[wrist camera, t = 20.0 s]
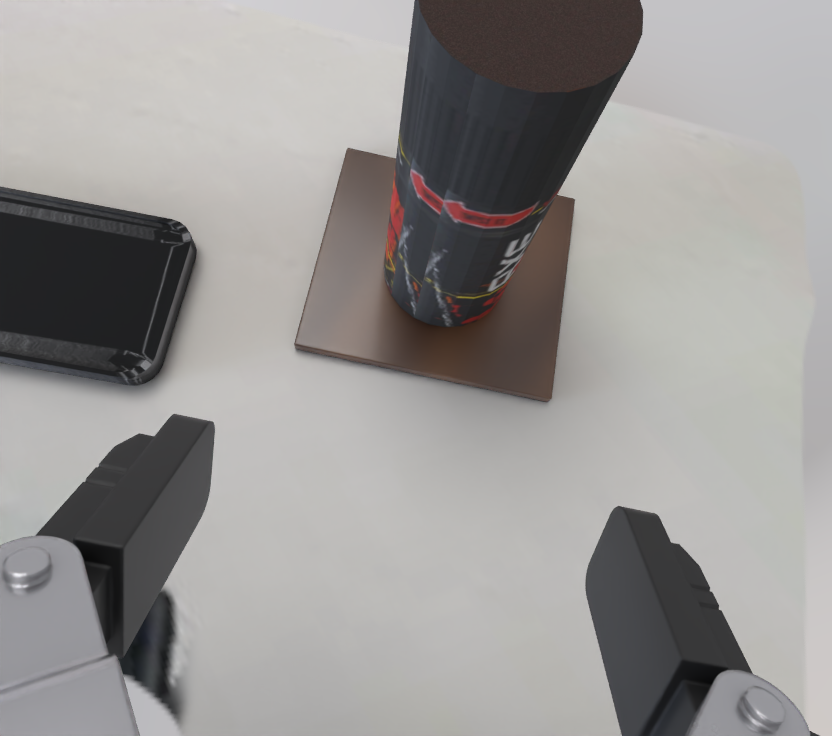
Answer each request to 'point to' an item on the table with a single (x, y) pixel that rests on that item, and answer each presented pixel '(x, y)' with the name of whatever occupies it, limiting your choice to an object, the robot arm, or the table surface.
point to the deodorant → (492, 139)
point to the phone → (89, 287)
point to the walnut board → (418, 341)
